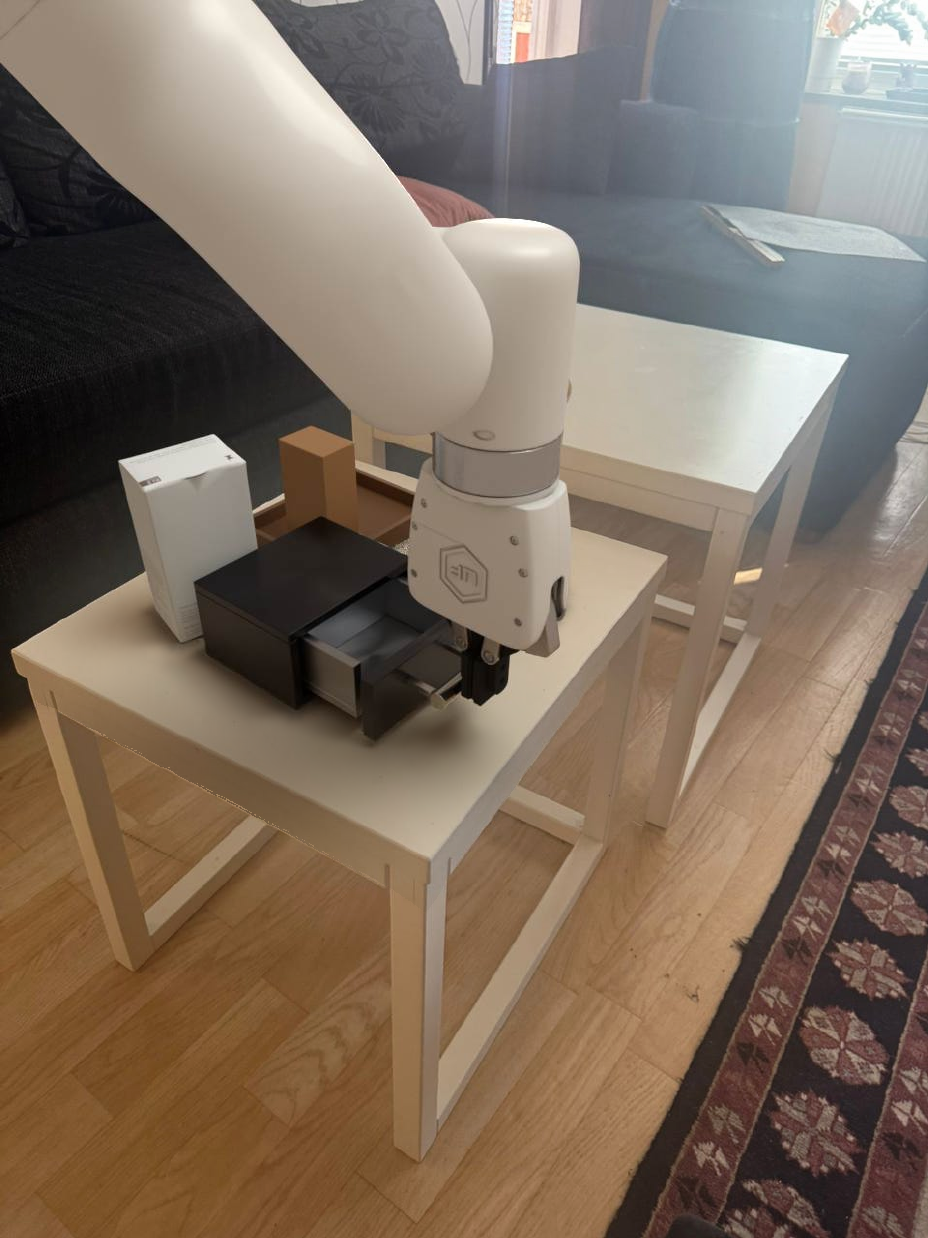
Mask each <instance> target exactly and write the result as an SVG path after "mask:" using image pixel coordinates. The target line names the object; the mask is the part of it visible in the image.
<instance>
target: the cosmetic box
mask: <svg viewBox="0 0 928 1238" xmlns="http://www.w3.org/2000/svg"><path fill="white" fill-rule="evenodd" d="M117 462H118V467H119V472H120V476H121V479H122V483H123V489H124V491H125V496H126V501H127V504H128V508H129V512H130V515H131V519H132V523H133V527H134V530H135V534H136V538H137V542H138V546H139V550H140V554H141V558H142V562H143V566H144V571H145V575H146V578H147V581H148V586H149V589H150V593H151V598H152V602H153V606H154V610H155V611H156V612H157V613H158V615H159V616H160V617H161V619H162V620H163V621H164V623H165V624H166V625H167V626H168V628H169V629H170V631H171V632H172V634H173V635H174V636H175V638H176V639H177V640H178V641H179V643H181V644H183V643H186V642H189V641H191V640H193V639H196V638H198V637H200V636H203V631H202V626H201V621H200V615H199V610H198V604H197V599H196V594H195V588H194V581H196V580H198V579H200V578H202V577H204V576H206V575H208V574H210V573H211V572H213V571H215V570H217V569H219V568H221V567H223V566H225V565H227V564H229V563H231V562H233V561H235V560H237V559H238V558H240V557H242V556H244V555H246V554H248V553H250V552H252V551H254V550H256V549H258V546H257V539H256V532H255V525H254V518H253V514H254V511H253V505H252V500H251V492H250V486H249V478H248V472H247V470H248V469H247V461H246V460H245V459H243V458H242V457H241V456H240V455H238V454H237V453H236V452H235V451H234V450H233V449H231V448H230V447H229V446H227V444H226V443H224V442H223V441H222V440H221V439H220V438H219V437H218V436H217V435H215V434H213V433H212V434H209V435H205V436H203V437H199V438H195V439H192V440H189V441H188V440H187V441H185V442H182V443H178V444H174V445H171V446H168V447H164V448H160V449H157V450H153V451H150V452H149V451H148V452H145V453H142V454H139V455H135V456H131V457H127V458H123V459H119V460H118V461H117Z"/></svg>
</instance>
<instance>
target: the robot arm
mask: <svg viewBox="0 0 928 1238" xmlns="http://www.w3.org/2000/svg"><path fill="white" fill-rule="evenodd" d="M273 25H274V24H272V23H271V21H270V20H269V19H268V17H267V16H266V15H265V14H264V13H263V12H262V10H261V9H260V8H259V7H258V5H257V4H255V2H254V1H253V0H0V64H1V65H2V66H3V67H4V68H5V69H6V71H8V72H9V73H10V74H11V75H12V76H13V77H14V79H16V80H17V81H18V83H20V85H21V86H23V88H24V89H25V90H26V91H27V92H28V93H29V94H30V95H31V96H32V97H33V98H34V99H35V100H36V101H37V102H38V103H39V105H41V106H42V107H43V108H44V109H45V110H46V111H47V112H48V113H49V115H51V117H53V118H54V119H55V120H56V122H57V123H59V124H60V125H61V126H62V127H63V128H64V129H65V130H66V131H67V132H68V133H69V135H71V136H72V138H74V140H75V141H76V142H77V143H78V144H79V145H80V146H81V147H82V148H83V149H84V150H85V151H86V152H87V153H88V154H89V155H90V157H91V158H92V159H93V160H95V162H96V163H97V164H98V165H99V166H100V167H101V168H102V169H103V170H104V171H106V173H107V174H108V175H110V176H111V177H112V178H113V179H114V180H115V181H116V182H118V183H119V184H120V185H121V186H122V187H123V188H125V189H126V190H127V191H128V192H129V193H130V194H132V195H134V197H136V198H137V199H138V200H139V201H140V202H141V203H143V205H145V206H147V208H149V209H150V210H151V211H152V212H154V213H155V214H156V215H157V216H158V217H159V218H160V219H161V220H162V221H164V223H166V224H167V225H168V226H169V227H170V228H171V229H172V230H173V231H175V233H176V234H177V235H179V236H180V237H181V238H182V239H183V240H184V241H185V242H186V243H187V244H188V245H189V246H190V247H191V248H192V249H193V251H195V252H196V253H197V254H198V255H199V256H200V257H201V258H202V259H203V260H204V261H205V262H206V263H207V264H208V265H209V266H210V267H211V268H212V269H213V270H214V271H215V273H216V274H217V275H218V276H220V277H221V278H222V279H223V281H225V282H226V283H227V285H229V287H230V288H231V289H232V290H233V291H234V292H235V293H236V294H237V295H238V296H239V297H240V298H241V299H242V300H243V301H244V302H245V303H246V304H247V305H248V306H249V307H250V308H251V309H252V310H253V312H254V313H256V315H258V317H260V319H262V321H264V322H265V324H266V325H267V326H268V327H269V328H270V329H271V330H272V331H273V332H274V333H275V334H276V335H277V336H278V337H279V338H280V339H281V340H282V341H283V342H284V343H285V344H286V345H287V347H288V348H290V349H291V350H292V351H293V352H294V354H295V355H296V356H297V357H298V358H299V359H300V360H301V361H302V362H303V363H304V364H305V365H306V366H307V367H308V368H309V369H310V371H312V372H313V373H314V375H316V376H317V377H318V379H320V381H322V383H323V384H324V385H325V386H326V387H327V388H328V389H329V390H330V391H331V392H332V393H333V394H334V395H335V396H336V397H337V398H338V399H339V400H340V401H341V403H342V404H343V405H344V406H345V407H346V408H347V409H348V410H349V411H350V412H351V414H353V415H354V416H355V417H357V418H358V420H360V421H362V422H363V423H365V424H367V425H369V426H370V427H373V428H374V429H376V430H378V431H381V432H385V433H388V434H391V435H396V436H404V437H405V436H407V437H415V436H424V435H430V436H431V438H432V440H431V443H432V445H431V449H432V450H431V456H430V457H429V458H427V459H425V461H423V463H422V465H421V468H420V472H419V475H418V478H417V479H418V480H417V484H416V487H415V491H414V492H415V496H414V502H413V508H412V514H411V523H410V534H409V538H408V549H407V551H408V552H407V555H408V585H409V590H410V593H411V595H412V596H413V597H414V598H415V599H416V600H417V601H418V602H419V603H420V604H422V605H423V606H425V607H427V608H429V609H430V610H432V611H434V612H436V613H438V614H440V615H442V616H444V617H445V618H446V620H447V621H448V623H449V625H450V626H451V628H452V632H453V641H454V644H455V646H456V647H457V648H458V649H460V650H461V676H462V682H461V695H460V697H462V698H464V699H466V700H472V702H473V704H475V705H477V706H479V707H482V706H483V705H485V704H486V703H487V702H488V701H489V700H490V699H491V698H492V697H494V696H495V695H496V696H498V695H500V694H501V693H502V692H503V691H504V690H505V689H506V687H507V686H508V682H509V677H510V676H509V675H510V662H511V656H512V655H514V654H517V653H519V652H520V651H521V652H525V654H529V655H532V656H536V657H540V658H543V659H544V658H545V659H546V658H549V657H550V656H551V655H553V653H555V652H556V651H557V650H558V649H559V648H560V647H561V642H560V633H559V626H558V623H559V622H561V621H562V620H563V619H564V617H565V616H566V613H567V609H568V608H567V607H568V602H569V594H570V584H571V573H572V524H571V523H572V522H571V511H570V500H569V494H568V487H567V483H566V482H564V481H563V480H562V479H560V469H561V459H562V449H563V448H562V447H563V440H564V439H563V438H564V431H565V421H566V412H567V404H566V402H567V392H568V382H569V380H570V372H571V362H572V351H573V344H574V343H573V341H574V333H575V325H576V324H575V322H576V314H577V313H576V312H577V303H578V294H579V284H580V270H581V269H580V268H581V261H580V253H579V250H578V249H579V248H578V247H577V245H576V242H575V241H574V239H573V238H572V237H571V236H570V235H569V234H568V233H567V232H565V231H564V230H562V229H560V228H558V227H555V226H553V225H550V224H548V223H543V222H539V221H534V220H526V219H515V218H486V219H475V220H469V221H466V222H463V223H458V224H457V225H454V226H450V227H449V226H448V227H447V226H446V227H444V226H433V225H432V224H431V222H430V221H429V219H428V218H427V217H426V216H425V214H424V212H423V211H422V210H421V208H420V207H419V206H418V204H417V203H416V201H415V200H414V198H413V197H412V196H411V195H410V193H409V191H407V189H406V188H405V186H404V185H403V183H401V181H400V180H399V179H398V177H397V176H396V175H395V173H394V172H393V171H392V170H391V168H390V167H389V165H387V163H386V162H385V160H384V159H383V158H382V156H381V155H380V154H379V153H378V152H377V150H376V149H375V148H374V147H373V145H372V144H371V143H370V141H369V140H368V139H367V138H366V136H364V134H363V133H362V132H361V131H360V130H359V128H358V127H357V126H356V125H355V123H354V122H353V120H351V119H350V118H349V116H348V115H347V114H346V113H345V112H344V111H343V110H342V108H341V107H340V106H339V105H338V104H337V103H336V101H335V100H334V99H333V98H332V97H331V96H330V94H329V93H328V92H327V91H326V90H325V88H324V87H323V86H322V85H321V84H320V82H318V80H317V79H316V78H315V77H314V75H313V74H312V73H311V72H310V71H309V70H308V69H307V67H306V66H305V65H304V64H303V62H302V61H301V59H300V58H298V56H297V55H296V54H295V53H294V51H293V50H292V49H291V47H290V46H289V45H288V43H287V42H286V41H285V40H284V38H283V37H282V36H281V34H280V33H279V31H278V30H277V29H276V28H275V26H273Z"/></svg>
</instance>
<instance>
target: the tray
mask: <svg viewBox="0 0 928 1238" xmlns="http://www.w3.org/2000/svg"><path fill="white" fill-rule="evenodd" d="M355 469H356V490H357V511H358V531H359V533H360V534H362V535H364V536H366V537H369V538H371V539H373V540H375V541H377V542H379V543H382V544H384V545H386V546H388V547H390V548H394V547H395V546H397V545H399V544H400V543H402V542H404V541H405V540H407V539H409V534H410V523H411V514H412V508H413V502H414V496H415V491H414V490H411V489H409V488H406V487H403V486H401V485H399V484H396V483H393V482H391V481H389V480H386V479H384V478H381V477H379V476H376V475H374V474H372V473H369V472H368V471H367V472H366V471H364V470H362V469H359V468H356V467H355ZM253 518H254V525H255V532H256V539H257V546H258V548H260V547H262V546H264V545H266V544H267V543H269V542H271V541H273V540H275V539H277V538H279V537H281V536H283V535H285V534H287V533H288V526H287V516H286V507H285V498H284V499H281V500H279V501H277V502H275V503H273V504H270V505H269V506H266V507H265V508H263V509H261V510H258V511H257V512H255V513H254V512H253Z"/></svg>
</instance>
